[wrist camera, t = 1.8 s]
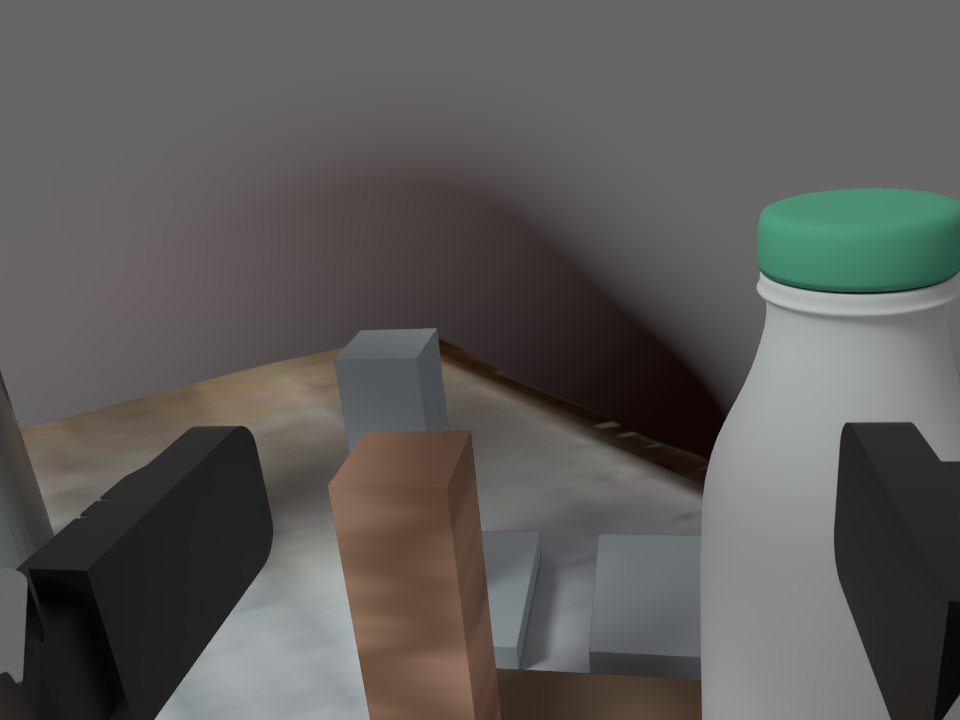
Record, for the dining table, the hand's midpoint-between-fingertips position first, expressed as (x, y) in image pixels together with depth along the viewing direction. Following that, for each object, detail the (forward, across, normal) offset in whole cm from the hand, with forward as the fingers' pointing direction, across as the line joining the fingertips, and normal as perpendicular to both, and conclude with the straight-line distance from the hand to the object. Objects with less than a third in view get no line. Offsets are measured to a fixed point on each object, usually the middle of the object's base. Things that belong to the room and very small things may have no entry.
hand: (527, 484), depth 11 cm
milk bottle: (+11, -7, +19) cm, 23 cm away
